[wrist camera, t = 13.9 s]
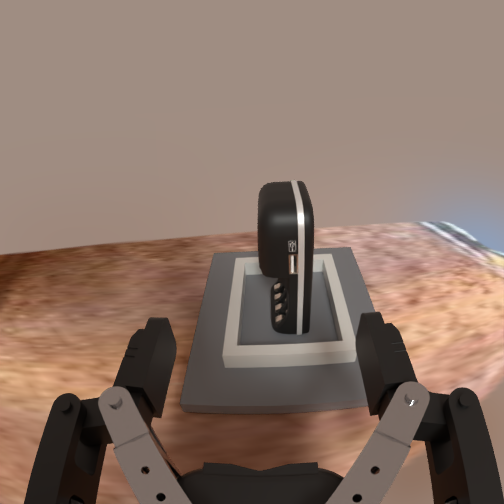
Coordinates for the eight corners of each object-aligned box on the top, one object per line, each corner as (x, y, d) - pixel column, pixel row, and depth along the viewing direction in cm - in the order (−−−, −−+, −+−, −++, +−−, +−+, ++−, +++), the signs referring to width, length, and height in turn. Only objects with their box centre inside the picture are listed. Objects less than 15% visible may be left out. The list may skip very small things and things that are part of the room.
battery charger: (263, 287, 32) (255, 175, 25) (302, 285, 31) (302, 173, 25) (263, 340, 26) (253, 212, 20) (310, 338, 25) (315, 209, 19)
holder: (183, 411, 21) (174, 392, 20) (215, 261, 38) (212, 242, 37) (397, 401, 20) (407, 381, 19) (349, 255, 37) (351, 236, 36)
